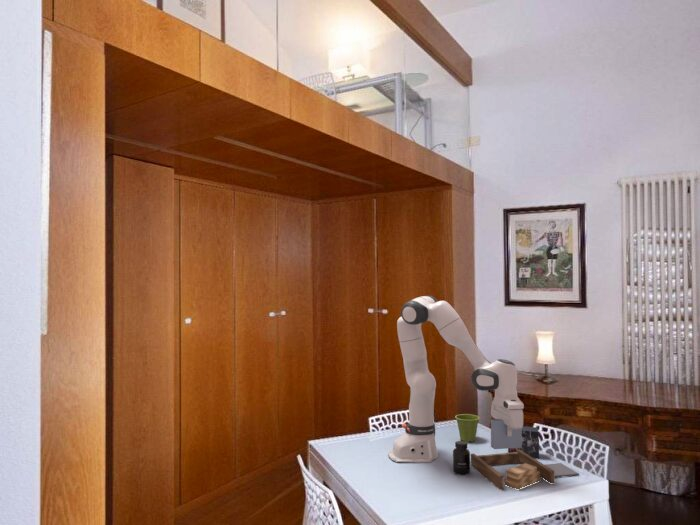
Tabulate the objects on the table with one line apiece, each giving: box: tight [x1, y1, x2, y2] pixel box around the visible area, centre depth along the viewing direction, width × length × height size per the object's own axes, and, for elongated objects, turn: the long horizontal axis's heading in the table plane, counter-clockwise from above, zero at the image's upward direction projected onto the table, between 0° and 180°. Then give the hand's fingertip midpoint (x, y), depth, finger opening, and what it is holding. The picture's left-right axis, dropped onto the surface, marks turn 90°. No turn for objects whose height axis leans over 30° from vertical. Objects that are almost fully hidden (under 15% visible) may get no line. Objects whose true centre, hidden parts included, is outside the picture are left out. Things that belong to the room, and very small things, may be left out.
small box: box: [507, 425, 540, 460], centre depth 223 cm, size 13×7×12 cm, turn 70°
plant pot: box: [454, 413, 480, 443], centre depth 246 cm, size 12×12×11 cm
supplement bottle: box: [452, 440, 471, 476], centre depth 204 cm, size 7×7×12 cm
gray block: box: [490, 418, 522, 450], centre depth 203 cm, size 12×3×11 cm, turn 101°
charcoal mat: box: [544, 462, 580, 478], centre depth 203 cm, size 12×12×1 cm
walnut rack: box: [470, 450, 555, 490], centre depth 201 cm, size 22×26×5 cm
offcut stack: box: [504, 463, 542, 489], centre depth 191 cm, size 14×6×6 cm, turn 125°
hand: (506, 434), depth 203 cm, fingers closed on gray block, 3 cm apart
